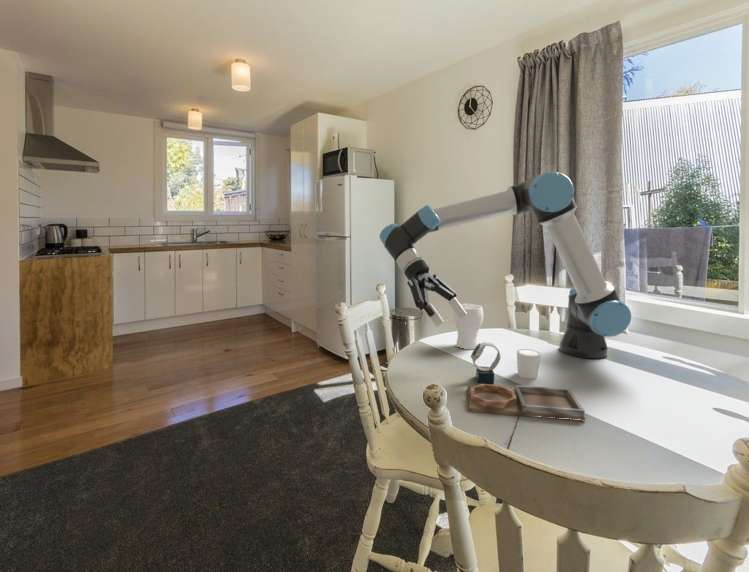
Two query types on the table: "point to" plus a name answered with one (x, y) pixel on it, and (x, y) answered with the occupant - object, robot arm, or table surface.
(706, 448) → the table surface
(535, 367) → the white cylinder
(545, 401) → the sorting board
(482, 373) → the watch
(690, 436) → the table surface
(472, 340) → the cup
